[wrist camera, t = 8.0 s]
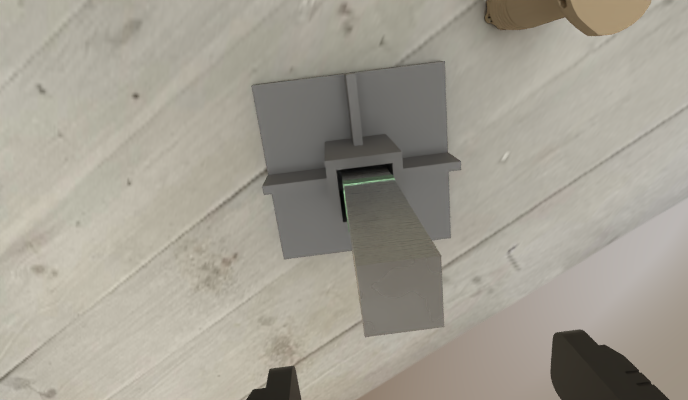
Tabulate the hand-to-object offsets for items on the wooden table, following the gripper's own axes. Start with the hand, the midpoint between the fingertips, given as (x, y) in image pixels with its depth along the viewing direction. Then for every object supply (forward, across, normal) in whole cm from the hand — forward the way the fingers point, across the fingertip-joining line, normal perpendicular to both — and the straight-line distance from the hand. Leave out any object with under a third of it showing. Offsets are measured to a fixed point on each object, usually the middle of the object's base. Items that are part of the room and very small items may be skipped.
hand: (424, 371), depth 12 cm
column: (+22, 0, +1) cm, 22 cm away
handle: (+30, -15, -12) cm, 36 cm away
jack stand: (+30, 0, +1) cm, 30 cm away
